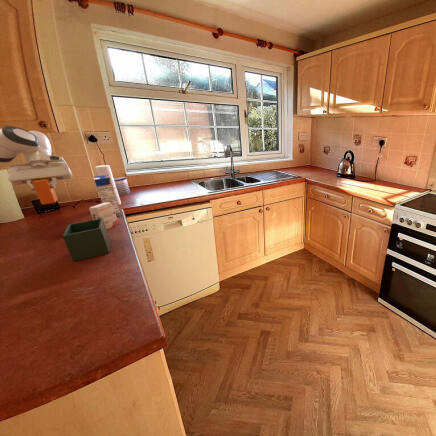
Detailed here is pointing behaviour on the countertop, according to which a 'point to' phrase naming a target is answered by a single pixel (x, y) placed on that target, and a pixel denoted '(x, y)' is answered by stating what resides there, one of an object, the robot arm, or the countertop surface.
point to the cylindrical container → (107, 171)
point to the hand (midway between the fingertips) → (43, 188)
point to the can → (122, 186)
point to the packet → (45, 191)
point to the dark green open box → (87, 239)
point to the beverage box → (107, 192)
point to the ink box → (104, 214)
